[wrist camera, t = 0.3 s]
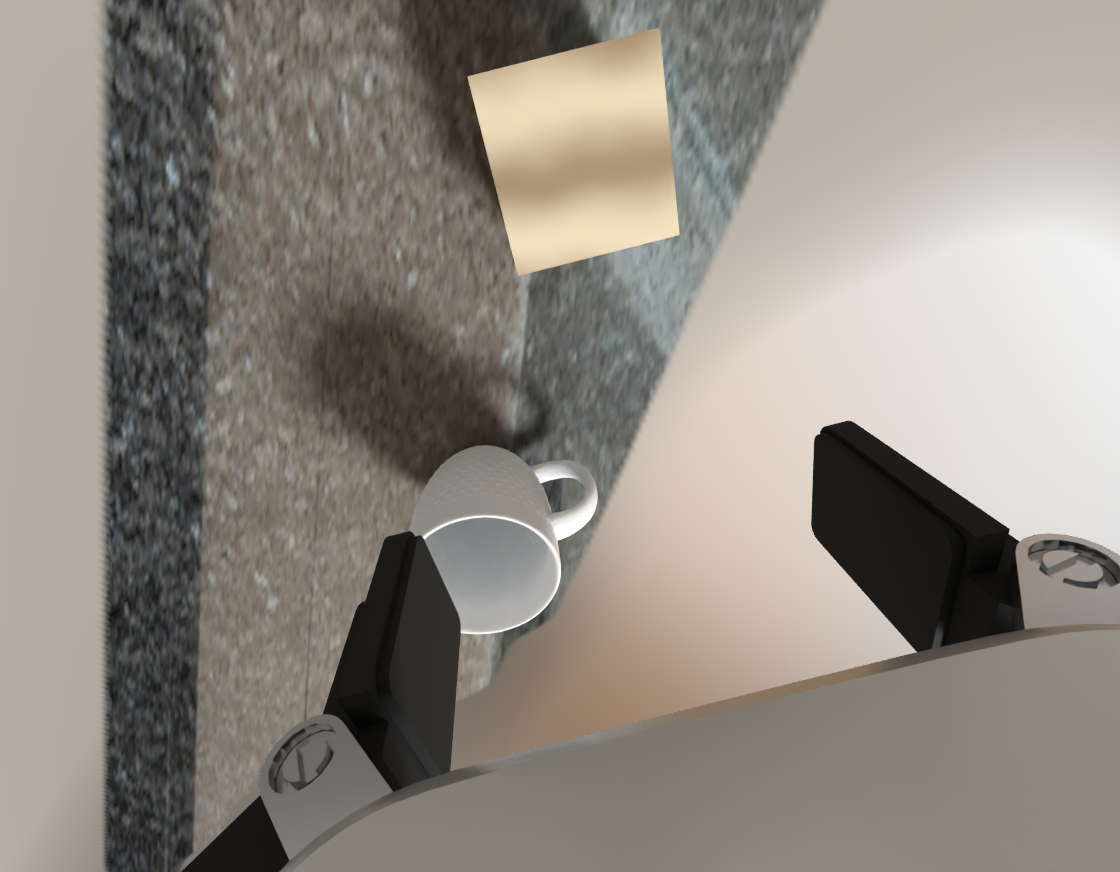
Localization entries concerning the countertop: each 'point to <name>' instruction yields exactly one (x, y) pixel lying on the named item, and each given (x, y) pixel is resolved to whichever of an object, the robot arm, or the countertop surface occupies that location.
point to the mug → (498, 533)
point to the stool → (580, 150)
